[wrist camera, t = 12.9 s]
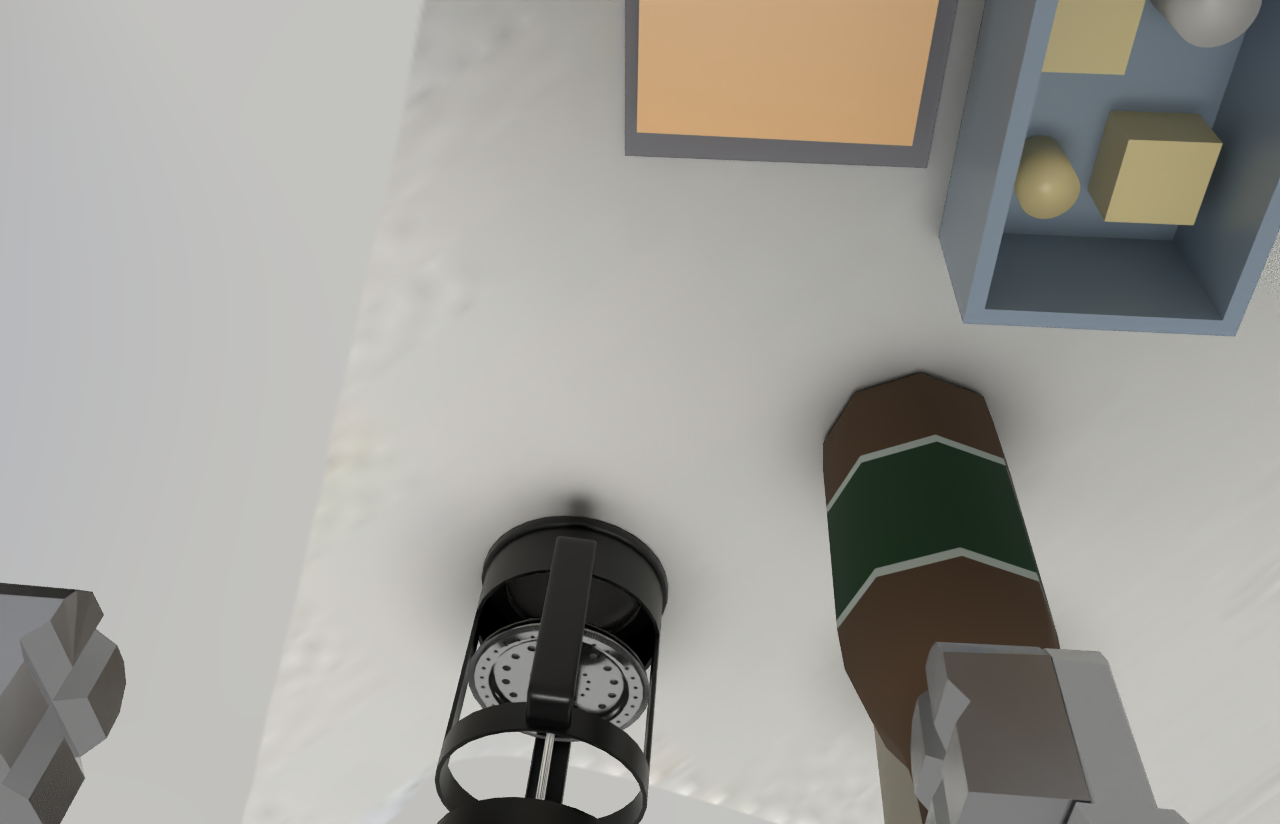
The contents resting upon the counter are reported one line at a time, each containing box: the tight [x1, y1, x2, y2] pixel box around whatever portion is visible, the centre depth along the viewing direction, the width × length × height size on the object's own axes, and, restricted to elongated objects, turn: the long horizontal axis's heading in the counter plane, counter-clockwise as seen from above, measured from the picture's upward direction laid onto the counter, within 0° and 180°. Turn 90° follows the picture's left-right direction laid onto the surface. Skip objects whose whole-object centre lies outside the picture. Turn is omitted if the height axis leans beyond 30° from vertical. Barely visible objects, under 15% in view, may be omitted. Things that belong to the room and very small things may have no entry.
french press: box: [435, 517, 668, 824], centre depth 46 cm, size 12×9×23 cm
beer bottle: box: [823, 373, 1060, 824], centre depth 39 cm, size 8×8×24 cm
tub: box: [939, 0, 1280, 336], centre depth 35 cm, size 9×14×6 cm, turn 179°
